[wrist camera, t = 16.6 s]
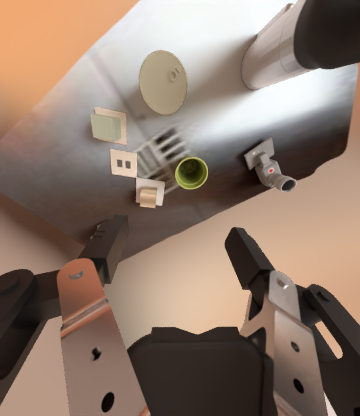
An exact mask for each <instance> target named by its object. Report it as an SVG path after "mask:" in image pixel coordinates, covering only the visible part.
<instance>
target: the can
mask: <svg viewBox="0 0 360 416" xmlns="http://www.w3.org/2000/svg"><path fill="white" fill-rule="evenodd" d="M139 86H140V91H141V94H142V97H143V99H144V101H145V102H146V104H147V105H148V106H149V107H150V108H151V109H152V110H153V111H155V112H157V113H158V114H160V115H163V116H170V115H173V114H174V113H176V112H177V111H178V109H179V108H180V106H181V105H182V103H183V101H184V99H185V96H186V92H187V78H186V73H185V70H184V68H183V66H182V64H181V62H180V61H179V59H178V58H177V57H176V56H175V55H173V54H172V53H170V52H168V51H164V50H159V51H155V52H153V53H151V54H150V55H148V56H147V58H146V59H145V60H144V62H143V64H142V66H141V69H140V74H139Z"/></svg>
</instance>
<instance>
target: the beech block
mask: <svg viewBox="0 0 360 416" xmlns="http://www.w3.org/2000/svg"><path fill="white" fill-rule="evenodd" d="M157 189H158V188H157V187H150V186H143V188H142V191H141V193H140V206H143V207H151V208H155V205H156V199H157Z"/></svg>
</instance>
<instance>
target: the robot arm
mask: <svg viewBox="0 0 360 416" xmlns="http://www.w3.org/2000/svg"><path fill="white" fill-rule="evenodd" d="M359 62H360V0H298V1H297V2H296V3H295V4H292V3H289V4H287V5H286V6H285V7H284V8H283V9H282V10H281V11H280V12H279V13H278V14H277V15H276V16H275V17H274V18H273V19H272V20H271V21H270V22H269V23H268V24H267V25H266V26H265V27H264V28H263V29H262V30H261V31H260V32H259V33H258V34H257V37H256V40H255V41H254V42H253V43H252V44H251V45H250V47H249V48H248V50H247V51H246V53H245V56H244V58H243V61H242V67H241V75H242V79H243V82H244V84H245V85H246V86H247V87H248V88H250V89H253V90H256V89H260V88H264V87H266V86H269V85H272V84H275V83H278V82H281V81H284V80H286V79H289V78H292V77H295V76H298V75H301V74H304V73H307V72H309V71H312V70H315V69H318V68H322V69H335V68H339V67H342V66H346V65H350V64H354V63H359ZM127 237H128V215H124V214H115V216H114V218H113V219H112V221H111V220H106V221H105V222H103V223H102V224H100V226H99V227H98V229H97V230H96V232H95V233H94V235H93V237H92V238H91V239H90V241H89V242H88V244H87V245H86V247H85V248H84V250H83V251H82V252H81V254H80V256H79V257H78V258H77V259H76V260H73V261H71V262H69V263H68V264H66V265H65V266H64V267H63V268H62V269H60V270H57V271H52V272H47V273H42V274H37V275H34V274H33V273H32V272H31V271H29V270H27V269H19V270H14V271H11V272H8V273H5V274H3V275H1V276H0V405H1V403H2V401H3V399H4V398H5V396H6V394H7V392H8V390H9V388H10V387H11V385H12V383H13V381H14V380H15V378H16V376H17V374H18V373H19V371H20V369H21V367H22V365H23V363H24V362H25V360H26V358H27V356H28V355H29V353H30V351H31V349H32V348H33V346H34V344H35V342H36V340H37V339H38V337H39V335H40V333H41V331H42V330H43V328H44V326H45V324H46V322H47V321H48V320H49V319H52V318H55V317H58V316H61V315H62V321H63V325H62V327H61V330H60V336H61V347H62V355H63V363H64V371H65V380H66V388H67V396H68V404H69V412H70V416H328V413H327V409H326V402H325V397H324V392H325V394H326V396H327V398H328V400H329V402H330V404H331V406H332V407H333V409H334V411H335V413H336V415H337V416H360V325H359V324H358V323H357V322H356V321H355V319H353V317H352V316H351V315H350V314H349V313H348V311H347V310H346V309H345V308H344V307H343V306H342V305H341V304H340V302H339V301H338V300H337V299H336V298H335V297H334V296H333V295H332V294H331V293H330V292H328V291H327V290H326V289H325V288H323V287H321V286H319V285H316V284H311V285H310V286H309V287H307V288H304V287H302V286H299V285H296V284H294V283H293V281H292V280H291V279H290V278H289V277H288V276H287V275H285V274H284V273H282V272H280V271H276V270H275V269H274V267H273V266H272V264H271V263H270V262H269V260H268V259H267V257H266V256H265V254H264V253H263V252H262V250H261V249H260V248H259V246H258V244H257V243H256V242H255V240H254V239H253V238H251V237H250V236H249V235H248V234H247V232H246V231H245V230H244V229H243V228H237V227H233V228H232V229H231V231H230V233H229V235H228V236H227V238H226V240H225V248H226V251H227V253H228V256H229V258H230V260H231V263H232V265H233V267H234V270H235V272H236V275H237V277H238V279H239V282H240V284H241V286H242V289H243V290H250V291H251V294H250V295H249V300H248V305H247V310H246V315H245V320H244V324H243V326H242V328H241V330H240V332H239V331H238V328H237V327H216V328H214V329H212V330H209V331H207V332H204V333H202V334H199V335H197V334H193V333H190V332H187V331H184V330H181V329H179V328H176V327H153V328H152V331H151V334H148V335H145V336H144V337H142V338H140V339H139V340H137V341H136V342H134V343H133V344H132V345H131V346H130V347H129V348H128V349H127V350H126V348H125V345H124V342H123V339H122V337H121V334H120V331H119V329H118V326H117V323H116V320H115V318H114V315H113V312H112V310H111V307H110V305H109V302H108V300H107V298H106V296H105V293H104V290H103V287H104V284H111V281H112V279H113V276H114V273H115V271H116V268H117V265H118V262H119V260H120V257H121V254H122V252H123V249H124V246H125V243H126V241H127ZM320 321H323V323H324V324H325V326H326V327H327V329H328V330H329V331H330V333H331V334H332V336H333V337H334V338H335V340H336V341H337V343H338V344H339V345H340V347H341V349H342V352H343V356H342V358H340V359H337V357H336V356H335V355H334V353H333V352H332V350H331V348H330V347H329V345H328V344H327V343H326V341H325V340H324V338H323V336H322V335H321V333H320V332H319V330H318V329H317V327H316V326H315V324H316V323H318V322H320ZM323 390H324V391H323Z"/></svg>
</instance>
